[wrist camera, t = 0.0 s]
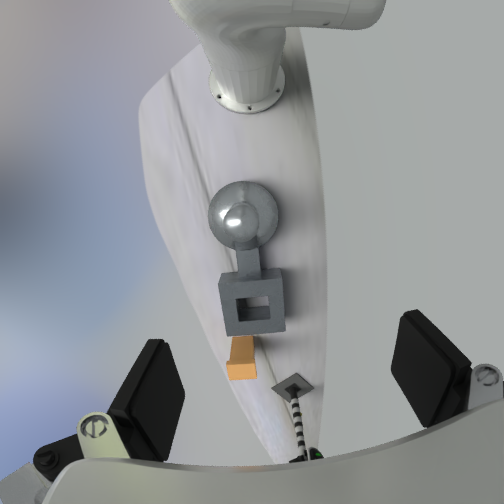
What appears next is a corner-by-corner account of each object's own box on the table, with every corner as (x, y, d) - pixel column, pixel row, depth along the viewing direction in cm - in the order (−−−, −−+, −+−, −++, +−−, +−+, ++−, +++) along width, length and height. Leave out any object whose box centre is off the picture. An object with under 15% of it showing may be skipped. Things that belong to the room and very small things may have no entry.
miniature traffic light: (315, 386, 55) (342, 498, 26) (289, 401, 57) (303, 511, 28) (297, 369, 54) (319, 492, 25) (269, 386, 55) (277, 505, 26)
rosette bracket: (207, 185, 44) (194, 187, 34) (273, 177, 43) (279, 177, 34) (227, 322, 51) (222, 353, 41) (285, 317, 50) (291, 347, 40)
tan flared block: (230, 336, 51) (226, 365, 43) (254, 334, 51) (254, 363, 42) (232, 350, 52) (229, 380, 44) (256, 348, 52) (256, 378, 43)
